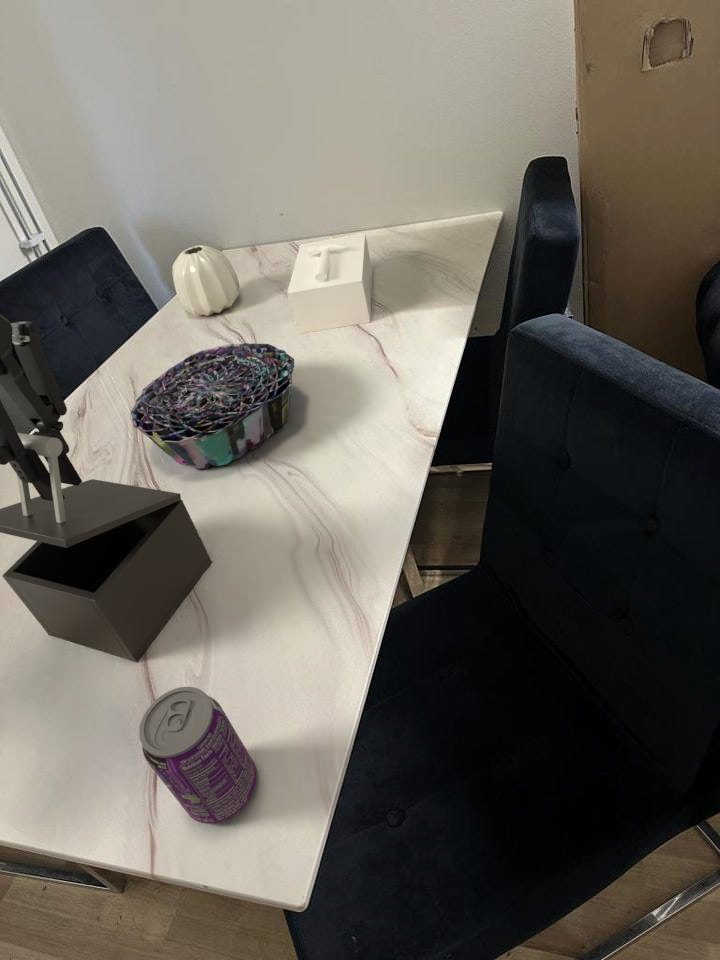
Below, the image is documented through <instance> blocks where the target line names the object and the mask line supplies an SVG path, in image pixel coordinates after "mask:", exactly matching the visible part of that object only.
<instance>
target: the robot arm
mask: <svg viewBox="0 0 720 960" xmlns="http://www.w3.org/2000/svg"><path fill="white" fill-rule="evenodd" d="M13 346H14V350H15V352H16V355H17V357H18V360H19V362H20V364H21V365H20V364H19V362H18V361H17V360H16V358H15V357H14V356H13ZM24 374H25V375H24ZM25 376H26V377H25ZM0 386H1V387H2V388H3V389H4V391H5V393H6V394H7V395H8V396H9V397H10V399H11V400H12V402H13V403H14V404H15V405H16V407H17V408H18V409H19V410H20V412H21V413H22V414H23V415H24V417H25V419H27V421H28V422H29V423H30V425H31V426H32V427H33V428H34V429H35V430H36V431H33V433H31V435H38V436H46V437H53V438H58V439H59V440H60V441H61V442H62V446H63V448H62V452H61V454H60V455H59V456H57V458H58V466H59V473H60V481H61V484H64V485H69V486H72V485H76V486H78V485H79V484H80V483H82V482H83V480H82V478H81V476H80V475H79V473H78V471H77V470H76V468H75V467H74V465H73V463H72V461H71V460H70V458H69V457H68V455H67V454H68V453H69V452H70V446H69V444H68V443H67V441H66V439H65V438H64V436H63V433H62V432H61V431H62V430H63V429H64V422H63V421H59V420H60V419H61V416H65V415H66V414H67V412H68V407H67V405H66V403H65V400H64V398H63V395H62V392H61V390H60V388H59V385H58V383H57V381H56V378H55V376H54V373H53V371H52V369H51V366H50V364H49V361H48V359H47V357H46V354H45V351H44V350H43V347H42V341H41V331H40V326H39V324H38V323H37V322H36V321H14V322H12V323H11V322H10V321H9V320H8V319H7V318H6V316H5V317H4V316H3V315H2V314H1V313H0ZM18 433H19V432H18V431H17V430H16V428H15V426H14V424H13V421H12V420H11V418H10V416H9V414H8V412H7V410H6V408H5V406H4V404H3V403H2V400H1V399H0V465H1V466H4V465H5V466H6V465H7V464H9V465H10V467H11V468H12V469H13V471H14V472H15V474H16V476H17V475H18V477H19V478H20V480H22V481H24V482H27V483H28V484H32V486H33V487H34V489H35V490H36V493H38V496H41V498H42V499H44V500H49V501H53V494H52V487H51V480H50V473H49V469H48V467H47V466H46V465H45V463H44V462H43V461H42V459H41V456H39V455H38V454H37V453H36V451H35V450H32V449H25V447H24V445H23V443H22V441H21V439H20V437H19V435H18ZM43 458H44V460H45V461H46V463H47V464H48V458H47V457H46V456H43ZM62 495H63V494H62ZM64 499H65V497H64V495H63V500H64Z"/></svg>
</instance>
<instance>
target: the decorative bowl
mask: <svg viewBox="0 0 720 960" xmlns="http://www.w3.org/2000/svg"><path fill="white" fill-rule="evenodd" d="M294 368H295V358H294V357H292V356H291V355H289V353H287V352H286V350H284V349H280V348H278V347H277V346H274V345H272V344H270V343H247V342H244V343H228V344H227V343H226V344H223V345H217V346H215V347H213V348H207V349H203V350H200V351H198V352H196V353H193V354H191V355H189V356H187V357H186V358H184V359H183V360H182V361H180V362H178V363H176V364H174V365H173V366H171V367H169V368H168V369H167V370H166V371H164V372H163V373H162V374H160V375H159V376H158V377H157V378H155V379H153V380H152V381H151V382H150V383H149V384H147V386H145V387H144V388H143V389H142V390H141V393H140V395H139V396H138V397H137V398H136V399H135V403H134V404H133V407H132V409H131V411H130V416H131V418H132V425H133V428H135V429H137V430H138V431H139V432H141V433H142V434H143V435H144V436H146V437H147V438H148V439H149V440H150V441H152V443H154V444H155V445H156V446H157V448H159V449H161V450H162V451H163V453H165V454H166V455H167V456H169V457H170V458H171V459H173V460H174V461H175V462H176V463H178V464H179V465H183V466H187V465H188V466H189V467H191V468H192V469H195V470H198V471H201V470H206V469H208V468H209V467H211V466H216V467H224V466H226V465H229V464H230V463H232V461H233V460H234V461H235V460H237V459H239V458H241V457H243V456H244V455H245V454H246V453H247V452H248V451H253V450H256V448H258V447H260V446H261V445H262V444H263V442H264V441H265V440H268V439H269V438H270V437H271V435H273V434H277V433H279V432H281V431H282V430H283V429H284V428H285V427H286V426H287V420H288V411H289V406H290V402H291V401H290V400H291V389H292V388H291V387H292V384H293V376H292V374H293V372H294Z"/></svg>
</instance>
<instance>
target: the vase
mask: <svg viewBox="0 0 720 960" xmlns="http://www.w3.org/2000/svg"><path fill="white" fill-rule="evenodd" d="M171 268H172V269H171V274H172V281H173V285H174V289H175V292H176V297H177V300H178V302H179V304H180V306H181V308H182V310H185V311H186V312H188V313H190V314H192V315H194V316H197V317H198V316H207V317H209V316H212V315H213V314H219V313H221V312H222V311H223V310H226V309H230V308H231V307H232V306H233V304H234V303H235V302H236V301H237V298H238V295H239V292H240V281H239V278H238V275H237V272H236V271H235V268H234V267H233V265H232V263H231V261H230V260H229V258H228V257H227V255H225V253H224V252H223V251H220V250H218V249H216V248H214V247H211V246H209V245H203V244H198V245H193V246H191V247H187V248H186V249H184V250H183V251H181V252H180V253H179V255H178V256H177V257H176V259H175V260H174V262H173V263H172V267H171Z"/></svg>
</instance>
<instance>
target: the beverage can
mask: <svg viewBox="0 0 720 960" xmlns="http://www.w3.org/2000/svg"><path fill="white" fill-rule="evenodd" d="M138 736H139V741H140V743H141V746H142V753H143V756H144V759H145V761H146V763H147V764H148V765H149V766H150V768H151V769H152V770H153V772H154V773H155V774H156V775H157V777H158V778H159V779H160V780H161V782H162V783H163V784H164V785H165V787H166V788H167V790H168V791H169V792H170V793H171V794H172V795H173V797H174V798H175V799H176V801H177V802H178V803H179V804H180V806H181V807H182V808H183V810H184V811H185V813H187V815H188V816H189V817H190V818H191V819H192V820H194V821H196V822H198V823H201V824H204V825H205V824H206V825H214V824H219V823H222V822H225V821H228V820H230V819H232V818H233V817H235V816H236V815H237V814H238V813H239V812H241V811H242V810H243V809H244V808H245V807H246V805H247V804H248V802H250V800H251V798H252V796H253V794H254V792H255V788H256V785H257V778H258V777H257V776H258V775H257V767H256V764H255V761H254V760H253V758H252V757H251V755H250V753H249V751H248V750H247V748H246V746H245V745H244V743H243V741H242V739H241V738H240V736H239V735H238V732H237V731H236V729H235V728H234V726H233V724H232V723H231V721H230V720H229V717H228V716H227V714H226V712H225V711H224V708H223V707H222V706H221V704H220V703H219V702H218V701H217V700H216V699H215V698H213V697H212V696H210V695H208V694H207V693H206V692H204V690H202V689H200V688H197V687H195V686H194V687H193V686H181V687H175V688H173V689H170V690H167V692H165V693H163V694H162V695H160V696H159V697H158V698H156V699H155V700H154V701H153V702H151V704H150V705H149V706H148V708H147V709H146V711H145V712H144V714H143V716H142V718H141V720H140V723H139V730H138Z"/></svg>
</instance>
